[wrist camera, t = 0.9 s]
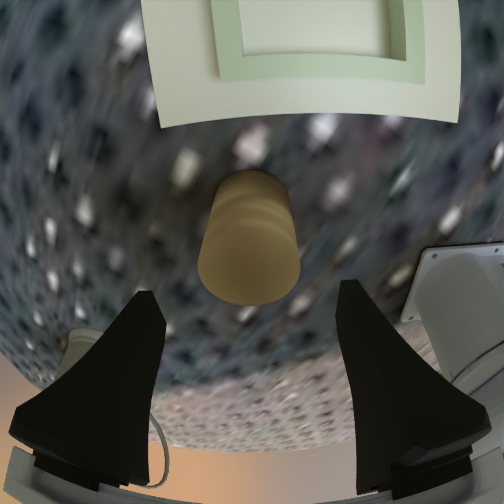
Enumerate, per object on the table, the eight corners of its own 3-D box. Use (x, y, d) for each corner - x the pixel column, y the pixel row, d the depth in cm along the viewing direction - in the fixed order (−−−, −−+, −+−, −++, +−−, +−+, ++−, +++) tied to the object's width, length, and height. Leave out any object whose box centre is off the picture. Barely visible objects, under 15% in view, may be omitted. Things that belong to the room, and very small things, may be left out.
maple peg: (287, 166, 16) (300, 224, 11) (290, 232, 19) (299, 303, 14) (209, 172, 16) (187, 232, 12) (220, 236, 19) (208, 307, 14)
